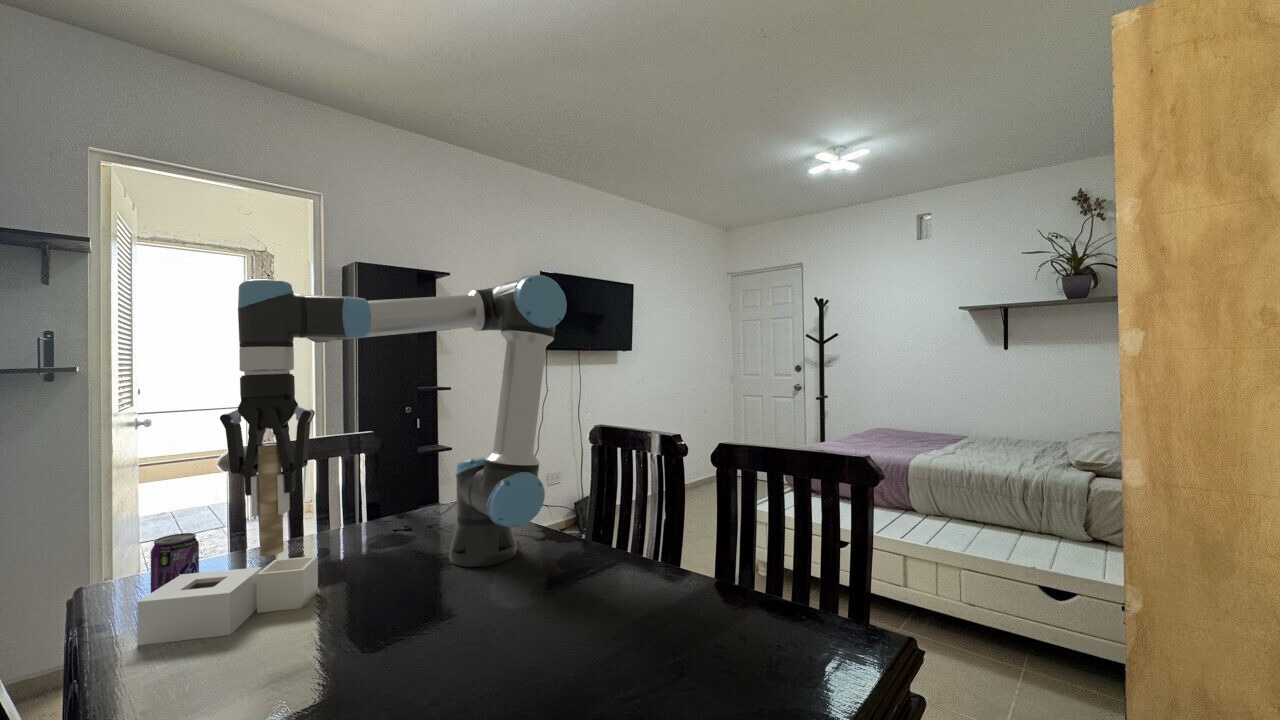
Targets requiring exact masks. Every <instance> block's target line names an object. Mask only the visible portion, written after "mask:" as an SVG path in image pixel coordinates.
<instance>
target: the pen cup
mask: <svg viewBox="0 0 1280 720" xmlns="http://www.w3.org/2000/svg"><path fill="white" fill-rule="evenodd" d="M318 559H319V558H318V556H317V555H316V556H303V557H293V558H282V559H274V560H272V561H271V562H270V563H269V564H268V565H266V566H265V567H264V568H262V570H261V571H260V572H259V573H258V574H257V610H256V613H257V614H259V613H267V612H268V613H269V612H279V611H285V610H286V611H287V610H296V609H305V607H306V606H307V605H308V603H310V601H311V600H312V599H313V598H314V597H315V596H316V594H317V593H318V592H319V565H318V563H319V562H318Z"/></svg>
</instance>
